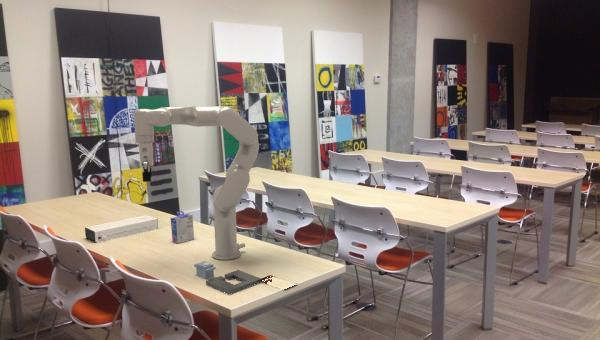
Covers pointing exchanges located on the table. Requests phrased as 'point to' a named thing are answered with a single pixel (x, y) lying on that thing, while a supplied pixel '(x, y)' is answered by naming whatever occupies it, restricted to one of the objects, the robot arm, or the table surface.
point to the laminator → (121, 228)
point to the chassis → (230, 288)
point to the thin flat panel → (271, 281)
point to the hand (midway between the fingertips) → (147, 179)
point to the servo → (205, 269)
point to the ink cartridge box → (182, 227)
